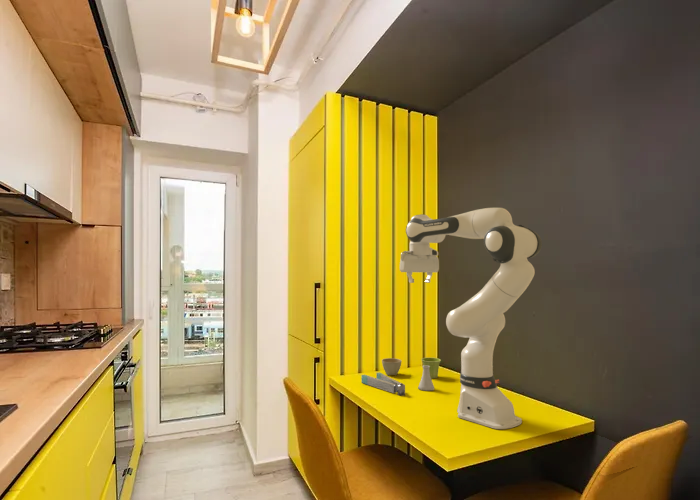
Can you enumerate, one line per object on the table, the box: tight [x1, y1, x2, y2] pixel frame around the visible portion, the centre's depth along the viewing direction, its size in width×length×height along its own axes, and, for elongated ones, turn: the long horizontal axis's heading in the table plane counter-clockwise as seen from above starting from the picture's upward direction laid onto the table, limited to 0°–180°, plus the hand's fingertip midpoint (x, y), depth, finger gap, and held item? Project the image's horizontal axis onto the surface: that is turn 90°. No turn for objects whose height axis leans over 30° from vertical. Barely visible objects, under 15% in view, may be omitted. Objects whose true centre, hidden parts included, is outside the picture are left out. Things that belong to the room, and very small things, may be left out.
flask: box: [417, 365, 435, 392], centre depth 174 cm, size 7×7×10 cm
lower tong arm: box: [376, 372, 401, 392], centre depth 178 cm, size 21×2×4 cm, turn 23°
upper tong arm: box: [361, 374, 397, 394], centre depth 175 cm, size 21×2×4 cm, turn 39°
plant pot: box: [421, 357, 442, 380], centre depth 194 cm, size 9×9×9 cm
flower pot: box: [381, 357, 402, 376], centre depth 199 cm, size 10×10×7 cm
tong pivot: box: [396, 382, 406, 397], centre depth 165 cm, size 3×3×5 cm
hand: (419, 282), depth 172 cm, fingers open, 8 cm apart
